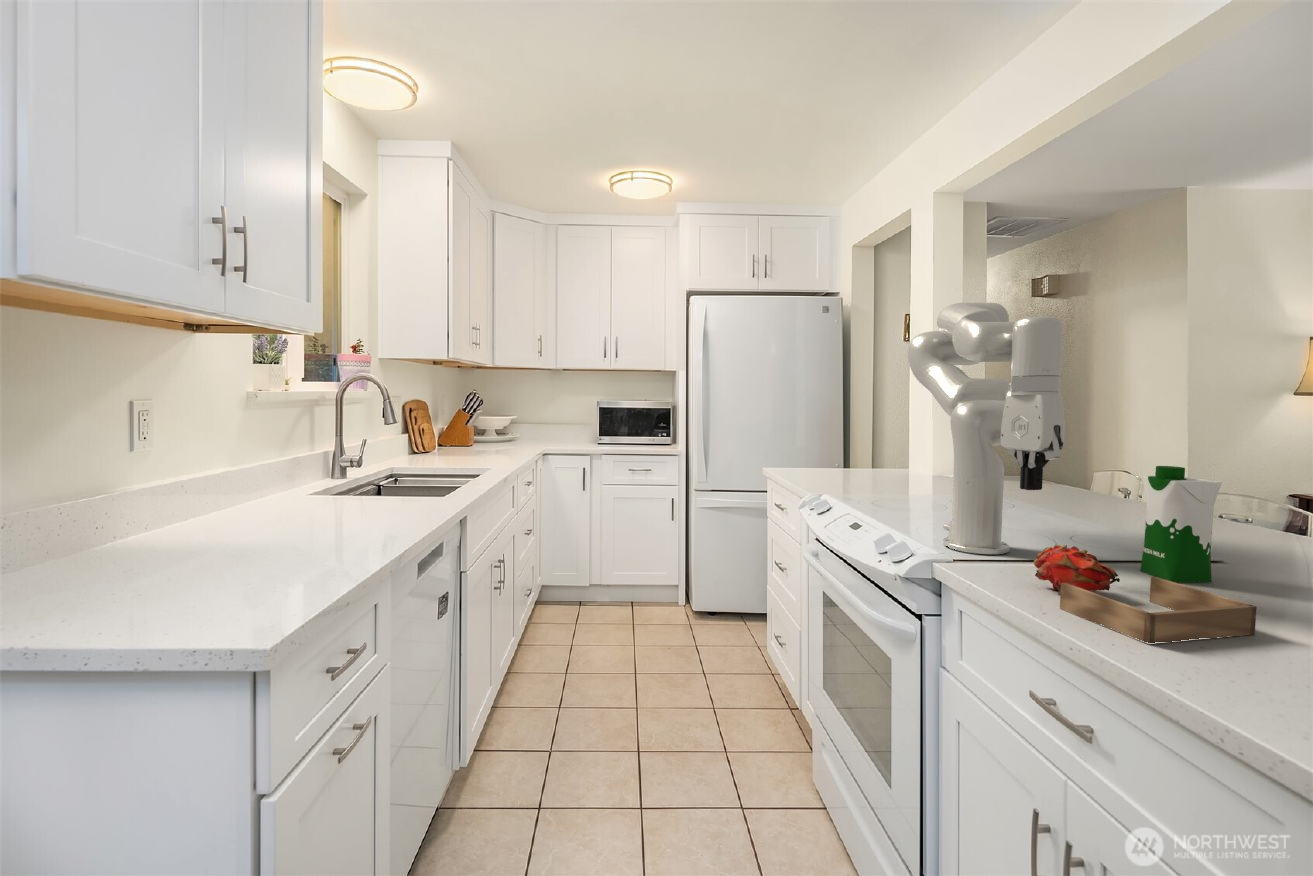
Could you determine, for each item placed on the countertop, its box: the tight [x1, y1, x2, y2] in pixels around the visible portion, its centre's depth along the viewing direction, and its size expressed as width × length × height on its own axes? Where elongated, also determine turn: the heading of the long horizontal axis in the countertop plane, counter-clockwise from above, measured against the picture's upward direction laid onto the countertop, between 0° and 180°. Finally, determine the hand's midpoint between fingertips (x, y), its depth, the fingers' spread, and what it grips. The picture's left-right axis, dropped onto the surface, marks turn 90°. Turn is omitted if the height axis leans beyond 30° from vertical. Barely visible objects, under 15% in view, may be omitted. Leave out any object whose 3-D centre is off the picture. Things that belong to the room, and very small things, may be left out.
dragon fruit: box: [1033, 544, 1121, 593], centre depth 100 cm, size 8×8×12 cm
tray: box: [1059, 576, 1258, 643], centre depth 87 cm, size 14×18×4 cm
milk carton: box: [1140, 465, 1222, 583], centre depth 108 cm, size 9×9×20 cm
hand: (1030, 489), depth 108 cm, fingers closed
